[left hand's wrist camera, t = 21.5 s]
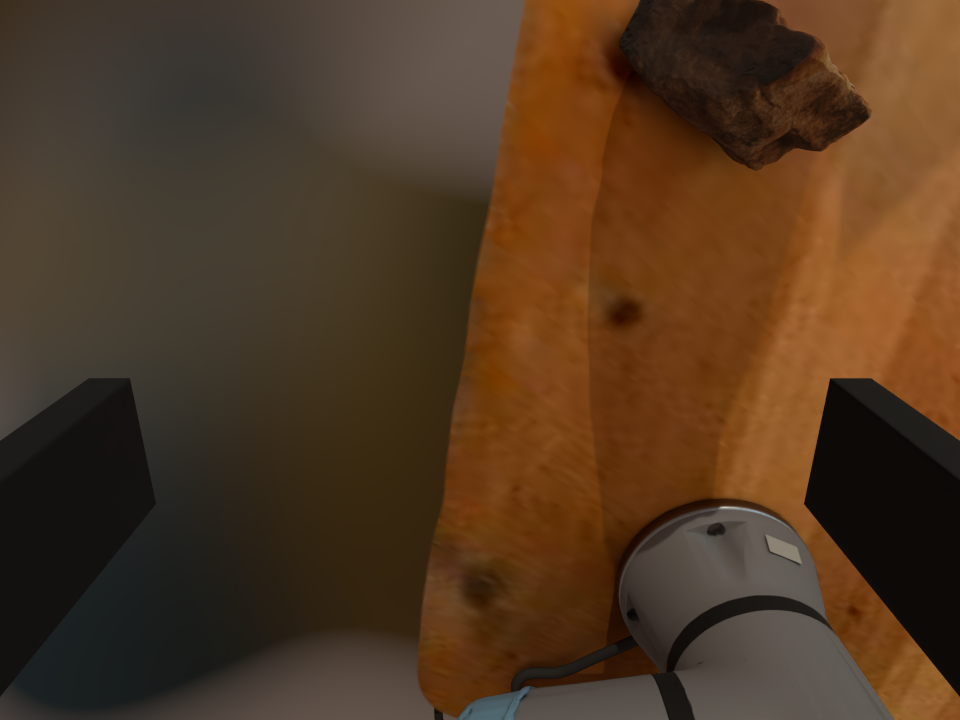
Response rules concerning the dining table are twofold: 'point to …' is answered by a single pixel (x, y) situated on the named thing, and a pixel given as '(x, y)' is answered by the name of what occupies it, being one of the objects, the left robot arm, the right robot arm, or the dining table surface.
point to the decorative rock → (742, 76)
